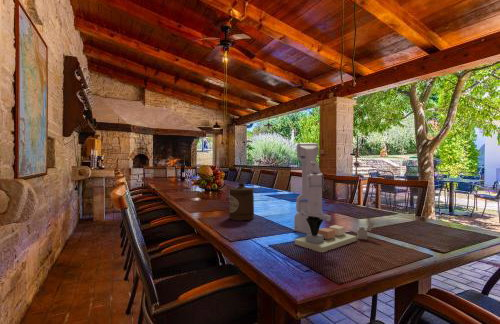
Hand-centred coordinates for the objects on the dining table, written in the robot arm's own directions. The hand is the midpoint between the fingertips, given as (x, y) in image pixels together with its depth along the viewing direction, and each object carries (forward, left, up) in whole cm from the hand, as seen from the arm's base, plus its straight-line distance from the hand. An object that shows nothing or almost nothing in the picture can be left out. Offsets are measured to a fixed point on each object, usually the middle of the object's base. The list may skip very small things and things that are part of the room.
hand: (314, 235), depth 116 cm
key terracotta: (0, +8, -2) cm, 8 cm away
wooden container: (-61, +9, -5) cm, 62 cm away
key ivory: (0, +16, -2) cm, 16 cm away
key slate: (0, 0, -3) cm, 3 cm away
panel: (0, +8, -4) cm, 9 cm away
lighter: (+8, +27, -5) cm, 28 cm away
